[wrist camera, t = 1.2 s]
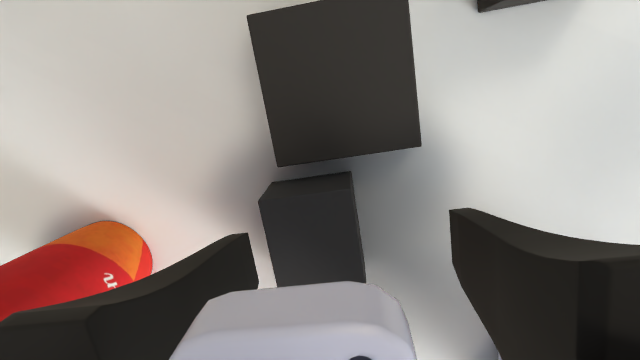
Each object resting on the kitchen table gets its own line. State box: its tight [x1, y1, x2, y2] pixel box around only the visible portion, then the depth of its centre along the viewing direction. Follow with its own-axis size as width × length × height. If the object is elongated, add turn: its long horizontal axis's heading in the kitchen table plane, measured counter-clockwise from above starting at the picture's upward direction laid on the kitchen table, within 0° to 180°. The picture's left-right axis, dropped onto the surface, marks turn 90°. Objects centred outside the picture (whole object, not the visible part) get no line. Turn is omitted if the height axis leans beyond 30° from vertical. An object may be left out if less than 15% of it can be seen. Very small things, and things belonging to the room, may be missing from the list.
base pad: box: [247, 0, 422, 167], centre depth 19 cm, size 8×8×2 cm
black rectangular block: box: [258, 171, 366, 287], centre depth 21 cm, size 6×5×4 cm
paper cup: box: [0, 221, 152, 322], centre depth 18 cm, size 8×8×14 cm
